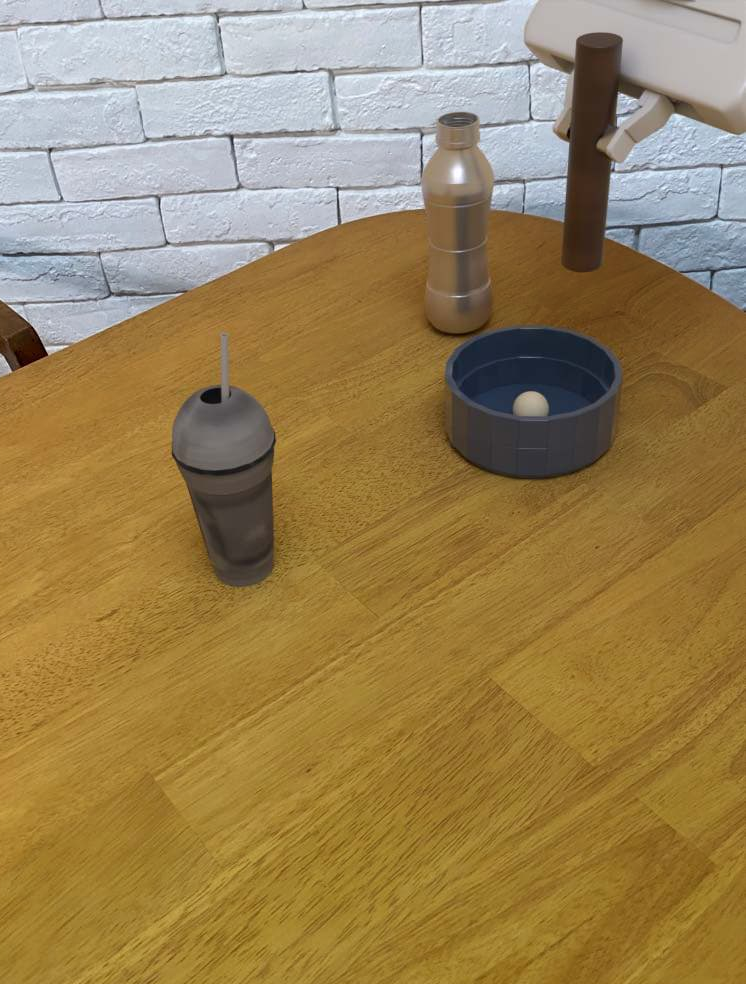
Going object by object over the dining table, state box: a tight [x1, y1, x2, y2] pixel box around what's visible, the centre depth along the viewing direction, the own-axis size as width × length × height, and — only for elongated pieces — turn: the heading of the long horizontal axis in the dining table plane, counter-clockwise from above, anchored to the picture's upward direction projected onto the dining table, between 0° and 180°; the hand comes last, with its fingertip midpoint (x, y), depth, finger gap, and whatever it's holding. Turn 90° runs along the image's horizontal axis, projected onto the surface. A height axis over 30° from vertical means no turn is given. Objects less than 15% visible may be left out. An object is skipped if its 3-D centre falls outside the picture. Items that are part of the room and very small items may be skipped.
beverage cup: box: [171, 332, 277, 587], centre depth 79 cm, size 7×7×20 cm
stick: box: [560, 32, 623, 273], centre depth 79 cm, size 3×3×16 cm
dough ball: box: [513, 391, 549, 416], centre depth 95 cm, size 3×3×3 cm
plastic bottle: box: [420, 111, 495, 334], centre depth 103 cm, size 6×7×20 cm
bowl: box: [444, 324, 624, 480], centre depth 94 cm, size 14×14×6 cm
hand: (584, 147), depth 78 cm, fingers closed on stick, 3 cm apart
